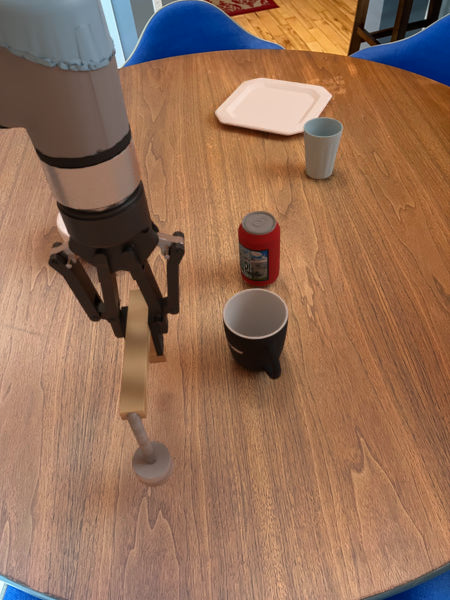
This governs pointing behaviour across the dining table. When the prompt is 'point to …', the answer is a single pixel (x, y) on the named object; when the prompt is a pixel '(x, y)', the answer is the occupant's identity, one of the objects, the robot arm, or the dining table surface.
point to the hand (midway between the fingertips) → (147, 347)
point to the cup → (321, 146)
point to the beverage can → (259, 248)
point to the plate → (273, 105)
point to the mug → (256, 330)
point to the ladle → (141, 394)
